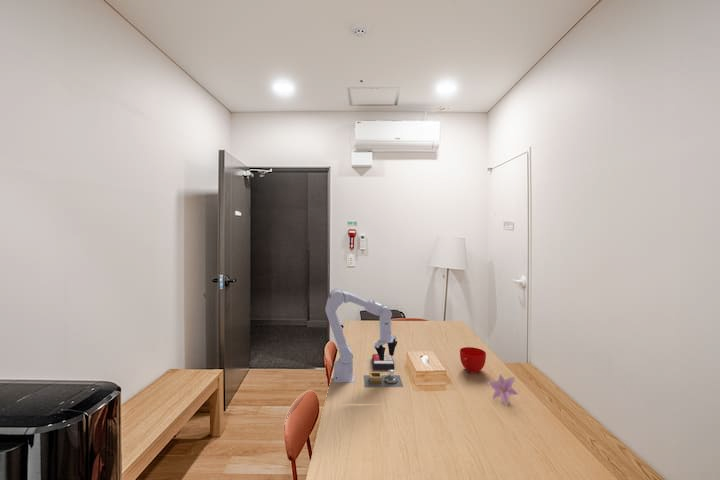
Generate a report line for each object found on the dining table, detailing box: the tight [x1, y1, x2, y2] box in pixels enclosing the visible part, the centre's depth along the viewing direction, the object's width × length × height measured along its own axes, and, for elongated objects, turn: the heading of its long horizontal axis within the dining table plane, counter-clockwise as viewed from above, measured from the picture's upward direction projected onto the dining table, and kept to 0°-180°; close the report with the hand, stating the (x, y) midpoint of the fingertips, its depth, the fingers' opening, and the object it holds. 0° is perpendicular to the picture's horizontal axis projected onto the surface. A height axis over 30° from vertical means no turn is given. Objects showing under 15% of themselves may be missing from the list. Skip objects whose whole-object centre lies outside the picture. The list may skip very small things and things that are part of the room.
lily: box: [487, 373, 519, 406], centre depth 139 cm, size 12×12×10 cm
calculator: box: [371, 353, 395, 371], centre depth 174 cm, size 11×4×15 cm
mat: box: [363, 374, 404, 388], centre depth 154 cm, size 18×12×1 cm, turn 92°
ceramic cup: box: [459, 346, 487, 374], centre depth 166 cm, size 13×17×10 cm
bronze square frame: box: [368, 371, 383, 384], centre depth 154 cm, size 6×6×3 cm
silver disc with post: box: [384, 369, 398, 384], centre depth 154 cm, size 6×6×5 cm
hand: (386, 357), depth 159 cm, fingers open, 7 cm apart
